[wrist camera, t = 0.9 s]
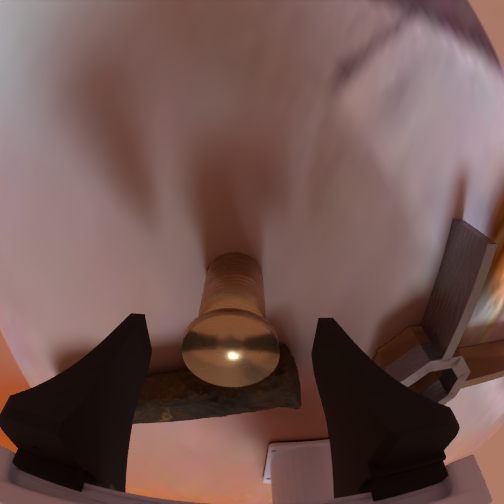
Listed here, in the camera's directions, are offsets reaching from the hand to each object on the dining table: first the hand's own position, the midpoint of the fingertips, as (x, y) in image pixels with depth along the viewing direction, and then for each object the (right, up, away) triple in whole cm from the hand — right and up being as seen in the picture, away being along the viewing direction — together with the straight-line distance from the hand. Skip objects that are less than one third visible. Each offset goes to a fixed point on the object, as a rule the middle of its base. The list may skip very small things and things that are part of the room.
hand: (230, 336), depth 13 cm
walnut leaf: (+17, -5, +8) cm, 19 cm away
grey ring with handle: (+13, -1, +6) cm, 14 cm away
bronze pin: (0, +2, +4) cm, 5 cm away
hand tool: (-5, -6, +9) cm, 12 cm away
